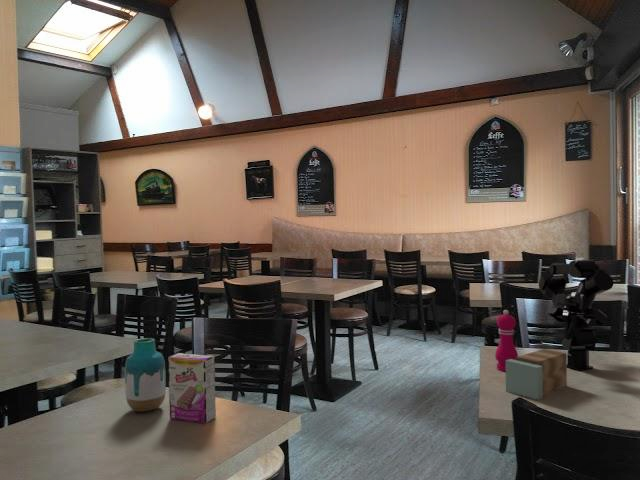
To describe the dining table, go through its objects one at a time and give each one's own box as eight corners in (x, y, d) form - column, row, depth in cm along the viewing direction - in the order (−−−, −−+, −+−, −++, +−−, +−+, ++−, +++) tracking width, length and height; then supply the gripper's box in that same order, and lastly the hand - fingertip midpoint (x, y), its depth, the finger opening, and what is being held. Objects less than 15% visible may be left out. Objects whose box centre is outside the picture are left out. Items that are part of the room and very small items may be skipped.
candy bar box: (168, 420, 133) (166, 357, 132) (180, 413, 138) (178, 352, 137) (206, 424, 129) (204, 359, 129) (216, 417, 134) (215, 354, 134)
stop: (511, 389, 152) (510, 358, 152) (542, 398, 144) (542, 366, 143) (505, 391, 150) (505, 360, 150) (537, 400, 142) (537, 367, 142)
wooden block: (544, 381, 159) (544, 348, 159) (566, 386, 154) (566, 353, 154) (516, 391, 151) (515, 357, 150) (538, 397, 145) (538, 361, 145)
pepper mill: (520, 372, 168) (519, 311, 168) (496, 372, 170) (496, 311, 169) (516, 366, 175) (515, 308, 175) (493, 366, 177) (493, 308, 176)
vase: (174, 405, 144) (172, 337, 143) (147, 419, 134) (145, 345, 133) (145, 401, 148) (143, 334, 148) (116, 413, 138) (114, 342, 138)
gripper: (545, 283, 172) (526, 324, 167) (592, 282, 154) (573, 327, 150) (567, 301, 174) (550, 341, 170) (616, 302, 157) (598, 347, 153)
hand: (566, 339), depth 161 cm, fingers closed
